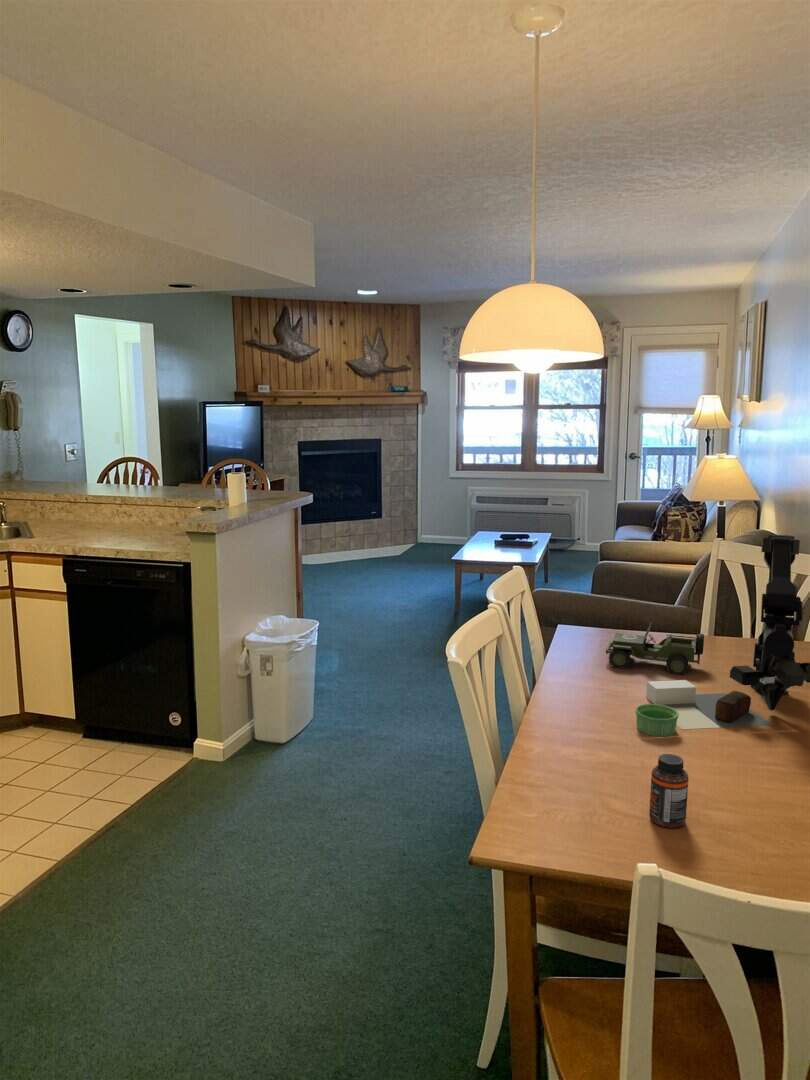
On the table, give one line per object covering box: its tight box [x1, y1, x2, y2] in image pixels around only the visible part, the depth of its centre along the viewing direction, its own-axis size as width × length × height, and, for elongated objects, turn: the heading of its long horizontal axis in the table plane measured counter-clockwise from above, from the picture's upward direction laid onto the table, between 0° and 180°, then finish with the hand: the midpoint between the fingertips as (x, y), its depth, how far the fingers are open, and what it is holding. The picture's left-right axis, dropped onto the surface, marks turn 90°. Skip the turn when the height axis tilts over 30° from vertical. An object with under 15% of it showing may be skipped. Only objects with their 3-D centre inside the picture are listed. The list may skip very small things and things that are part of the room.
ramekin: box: [635, 703, 679, 738], centre depth 171 cm, size 9×9×4 cm
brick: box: [715, 690, 752, 723], centre depth 178 cm, size 11×4×5 cm, turn 135°
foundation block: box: [645, 679, 697, 705], centre depth 188 cm, size 10×5×4 cm, turn 97°
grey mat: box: [646, 692, 774, 730], centre depth 182 cm, size 22×20×1 cm
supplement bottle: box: [648, 753, 689, 829], centre depth 132 cm, size 6×6×11 cm
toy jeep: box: [605, 622, 705, 676], centre depth 214 cm, size 12×25×11 cm, turn 69°
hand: (771, 709), depth 180 cm, fingers closed
